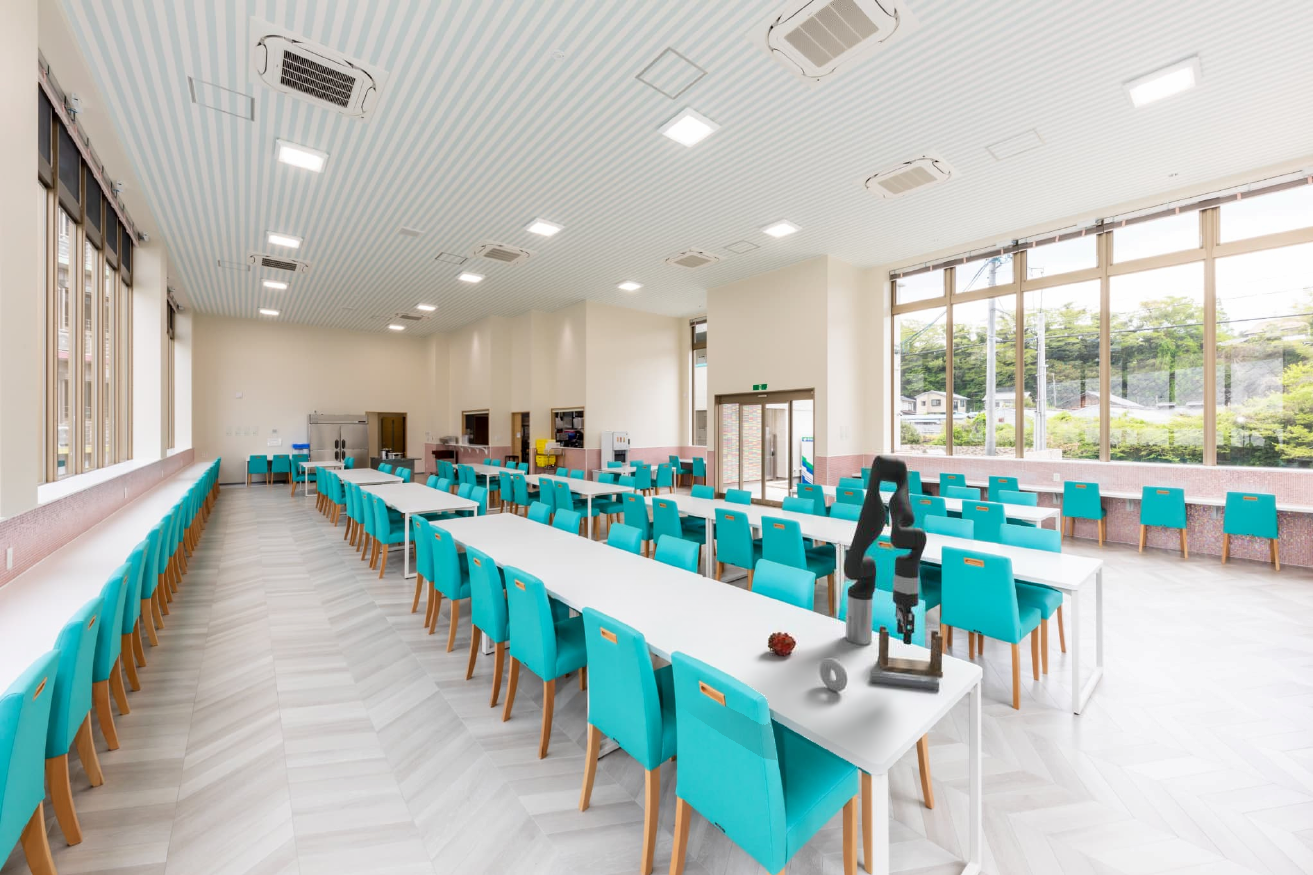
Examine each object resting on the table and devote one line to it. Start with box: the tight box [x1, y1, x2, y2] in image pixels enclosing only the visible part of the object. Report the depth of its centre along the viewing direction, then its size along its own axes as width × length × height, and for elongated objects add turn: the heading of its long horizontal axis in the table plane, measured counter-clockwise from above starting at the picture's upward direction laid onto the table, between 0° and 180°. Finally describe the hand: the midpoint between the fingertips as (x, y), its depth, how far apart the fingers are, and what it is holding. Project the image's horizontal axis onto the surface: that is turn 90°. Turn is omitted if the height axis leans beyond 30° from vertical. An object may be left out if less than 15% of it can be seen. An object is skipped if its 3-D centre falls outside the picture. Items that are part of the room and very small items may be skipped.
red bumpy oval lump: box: [767, 631, 797, 657], centre depth 196 cm, size 8×8×12 cm
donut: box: [819, 657, 848, 693], centre depth 169 cm, size 10×4×10 cm, turn 30°
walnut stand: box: [877, 625, 944, 677], centre depth 186 cm, size 19×8×13 cm, turn 78°
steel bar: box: [869, 671, 940, 692], centre depth 173 cm, size 20×3×3 cm, turn 78°
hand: (903, 638), depth 173 cm, fingers open, 8 cm apart
